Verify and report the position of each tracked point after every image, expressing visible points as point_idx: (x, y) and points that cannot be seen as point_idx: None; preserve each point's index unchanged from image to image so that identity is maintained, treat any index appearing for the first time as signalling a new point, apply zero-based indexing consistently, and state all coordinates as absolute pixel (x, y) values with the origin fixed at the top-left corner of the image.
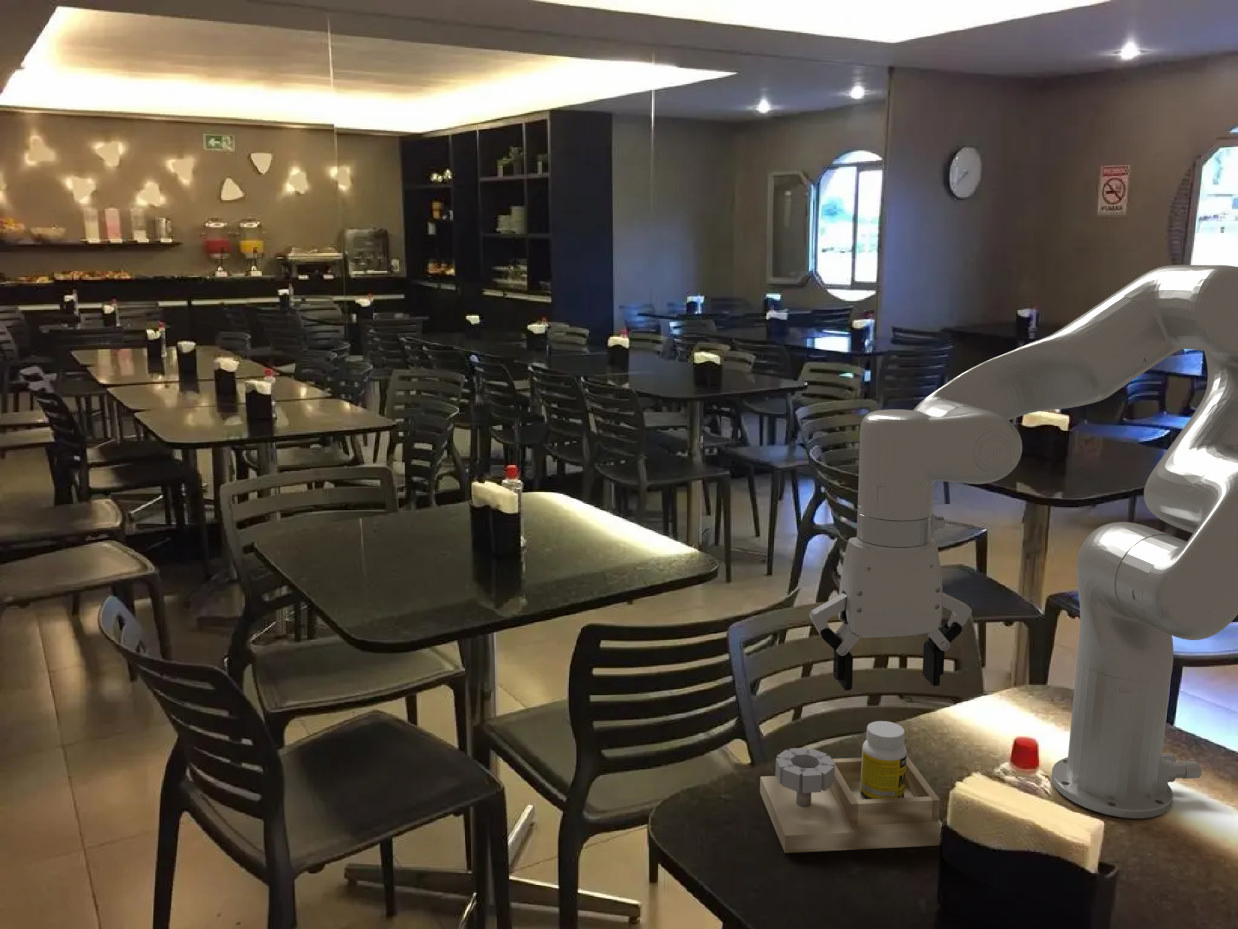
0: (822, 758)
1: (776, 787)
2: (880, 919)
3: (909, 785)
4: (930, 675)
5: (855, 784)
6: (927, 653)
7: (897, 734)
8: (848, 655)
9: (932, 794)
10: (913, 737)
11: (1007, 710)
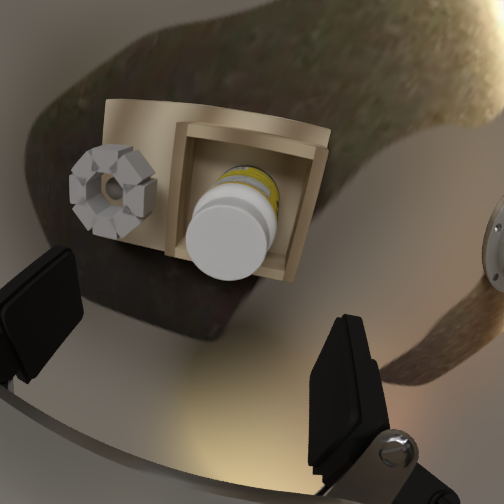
0: (130, 193)
1: (116, 130)
2: (170, 331)
3: (303, 187)
4: (315, 382)
5: (228, 146)
6: (331, 414)
7: (236, 275)
8: (19, 377)
9: (291, 269)
10: (420, 19)
11: None
